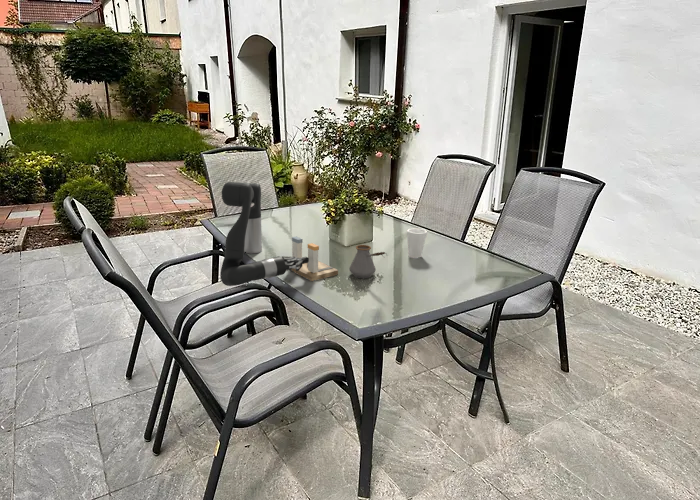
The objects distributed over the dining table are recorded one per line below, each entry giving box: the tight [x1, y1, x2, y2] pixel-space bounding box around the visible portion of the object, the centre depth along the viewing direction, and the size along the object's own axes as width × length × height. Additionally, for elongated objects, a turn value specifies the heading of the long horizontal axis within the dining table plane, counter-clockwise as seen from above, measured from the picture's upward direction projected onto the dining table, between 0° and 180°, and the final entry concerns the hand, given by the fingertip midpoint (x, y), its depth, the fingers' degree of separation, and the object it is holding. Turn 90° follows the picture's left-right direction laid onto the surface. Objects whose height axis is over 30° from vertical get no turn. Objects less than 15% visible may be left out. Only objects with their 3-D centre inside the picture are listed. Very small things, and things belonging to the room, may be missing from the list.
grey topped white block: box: [291, 236, 304, 258], centre depth 204 cm, size 2×5×12 cm, turn 40°
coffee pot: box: [348, 244, 388, 279], centre depth 196 cm, size 21×12×15 cm, turn 32°
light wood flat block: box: [290, 260, 339, 282], centre depth 204 cm, size 14×20×3 cm
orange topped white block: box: [307, 242, 320, 273], centre depth 196 cm, size 2×5×12 cm, turn 40°
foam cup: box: [406, 228, 428, 259], centre depth 227 cm, size 10×9×13 cm
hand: (307, 259), depth 194 cm, fingers closed
